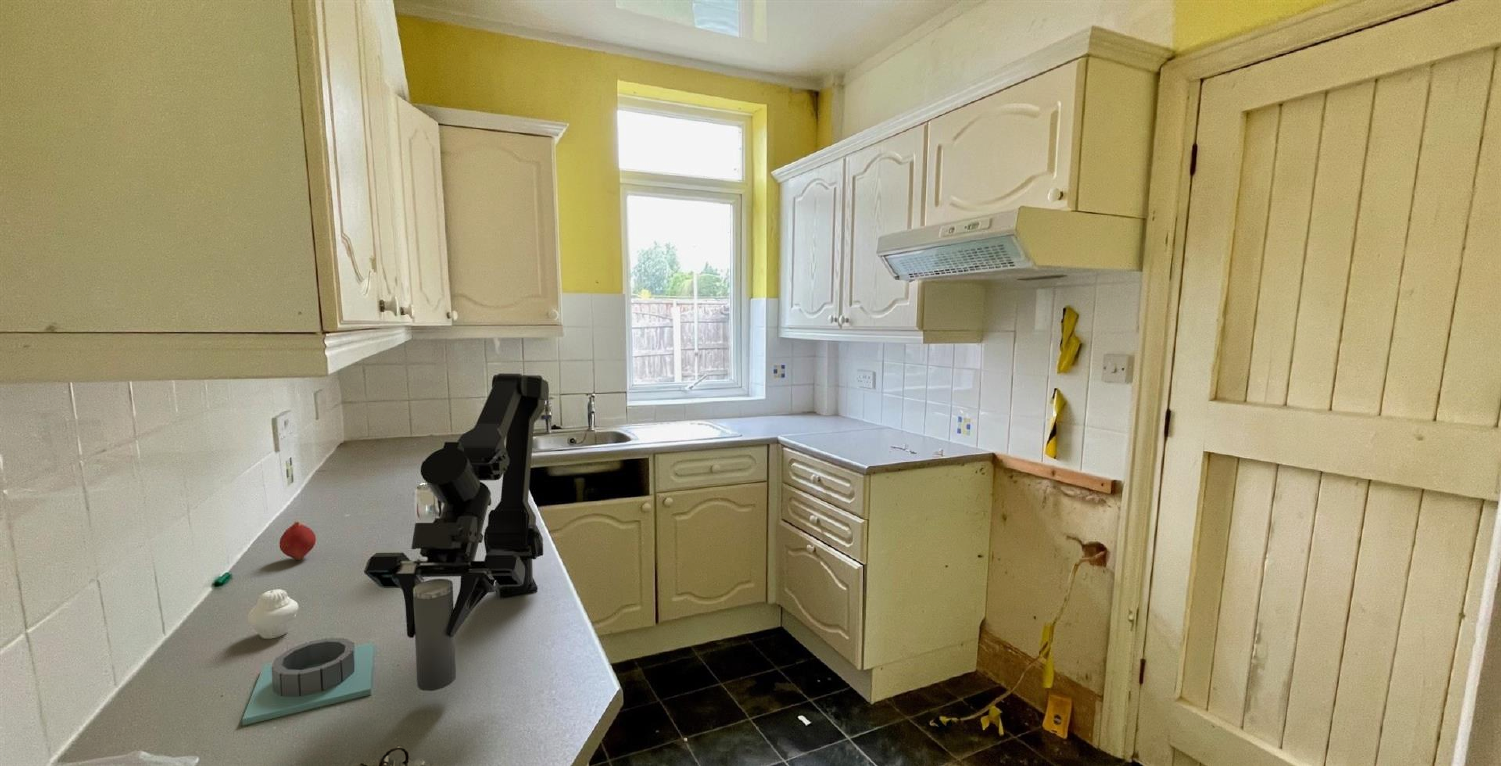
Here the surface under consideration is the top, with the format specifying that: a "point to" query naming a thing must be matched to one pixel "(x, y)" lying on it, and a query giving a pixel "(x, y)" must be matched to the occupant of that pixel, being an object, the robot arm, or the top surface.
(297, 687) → the socket
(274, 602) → the muffin
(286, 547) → the onion
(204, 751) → the top surface
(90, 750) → the top surface
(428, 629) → the plug
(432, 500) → the beer glass
